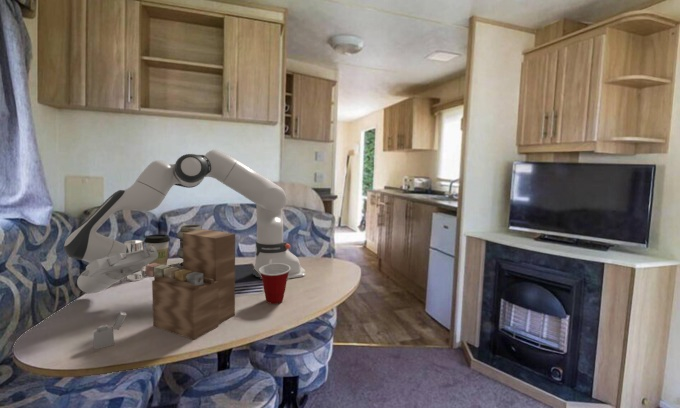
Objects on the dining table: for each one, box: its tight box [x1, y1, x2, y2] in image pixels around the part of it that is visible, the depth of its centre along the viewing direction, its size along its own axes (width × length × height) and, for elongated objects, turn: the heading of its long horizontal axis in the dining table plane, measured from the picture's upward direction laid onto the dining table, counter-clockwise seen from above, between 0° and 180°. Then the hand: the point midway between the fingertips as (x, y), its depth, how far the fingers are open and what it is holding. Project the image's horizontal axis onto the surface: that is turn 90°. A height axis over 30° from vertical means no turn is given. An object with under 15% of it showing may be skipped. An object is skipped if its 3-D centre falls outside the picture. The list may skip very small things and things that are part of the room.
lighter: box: [93, 311, 127, 350], centre depth 91 cm, size 7×2×8 cm, turn 126°
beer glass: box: [123, 239, 145, 282], centre depth 139 cm, size 7×7×15 cm
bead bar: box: [145, 263, 203, 285], centre depth 102 cm, size 20×3×3 cm, turn 66°
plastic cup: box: [259, 263, 290, 305], centre depth 123 cm, size 11×11×12 cm
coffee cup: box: [143, 233, 171, 266], centre depth 150 cm, size 10×10×15 cm
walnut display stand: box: [151, 228, 236, 341], centre depth 104 cm, size 16×17×26 cm
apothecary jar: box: [176, 223, 202, 268], centre depth 161 cm, size 12×12×18 cm
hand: (138, 252), depth 107 cm, fingers open, 8 cm apart
